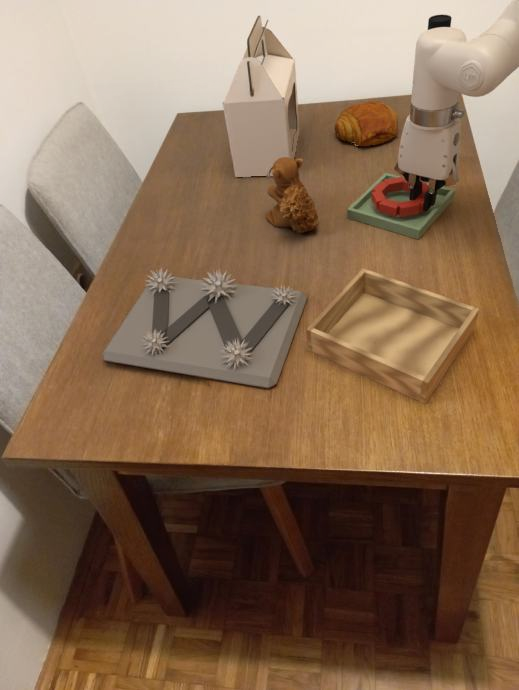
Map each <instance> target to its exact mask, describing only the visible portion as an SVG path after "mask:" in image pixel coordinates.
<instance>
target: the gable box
mask: <svg viewBox="0 0 519 690" xmlns="http://www.w3.org/2000/svg"><path fill="white" fill-rule="evenodd" d="M268 23H269V19H267V20H266V22H265V25H264V26H263V22H262V17H261V15H257V17H256V19H255V21H254V23H253V26H252V28H251V30H250V32H249V35H248V37H247V38H246V39H247V40H246V47H247V48H246V50H245V52H244V55H243V57H242V59H241V60H240V62H239V64H238V65H237V68H236V71H235V74H234V76H233V78H232V80H231V83H230V85H229V88H228V90H227V92H226V93H225V94H226V95H225V96H224V98H223V101H222V109H223V113H224V114H223V115H224V120H225V125H226V132H227V137H228V143H229V148H230V154H231V160H232V165H233V172H234V177H235V178H236V177H243V178H252V177H251V176H266V175H267V173H268V172H270V171H269V170H270V169H271V168H272V167H273V164H274V162H275V161H276V160H277V159H279V158H282V157H288V158H292V159H294V157H295V158H296V154H295V152H296V153H297V148H296V146H297V147H298V143H297V141H298V142H299V138H298V136H299V137H300V133H299V130H300V131H301V128H300V127H301V126H300V114H299V101H298V88H297V87H298V85H297V74H296V60H295V59H294V58H293V57H292V55H291V54H290V52H288V51H287V48H285V47H284V46H283V44H282V42H281V41H280V40H279V39H278V37H276V35H275V34H274V32H273V31H272V30H270V29H269V28H267V26H268ZM289 129H296V132H295V134H294V137H293V144H292V150H291V138H290V130H289ZM294 160H295V159H294ZM268 175H269V173H268ZM270 177H273V175H272V174H271V173H270Z"/></svg>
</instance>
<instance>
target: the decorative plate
mask: <svg viewBox="0 0 519 690" xmlns="http://www.w3.org/2000/svg"><path fill="white" fill-rule="evenodd" d="M155 271H156V272H155ZM155 271H153V270H150V273H151V276H150V275H148V274H146V277H147V278H146V279H144V281H145V282H148V283H147V284H145V288H144V289H143V290H142V292H141V294H140V295H139V296H138V299H137V300H136V302H135V303H134V305H133V306H132V308H131V309H130V310H129V312H128V314H127V315H126V316H125V318H124V320H123V321H122V322H121V324H120V326H119V327H118V328H117V330H116V332H115V333H114V335H113V337H112V339H110V341H109V343H108V344H107V345H106V348H104V350H103V352H102V353H101V356H102V359H103V361H104V362H109V363H114V364H115V363H116V364H122V365H128V366H133V367H139V368H146V369H152V370H157V371H161V372H168V373H175V374H180V375H186V376H191V377H192V376H193V377H197V378H204V379H210V380H216V381H222V382H228V383H232V384H233V383H234V384H241V385H247V386H252V387H257V388H264V389H270V388H272V387H274V386H276V385H277V384H278V382H279V379H280V376H281V373H282V370H283V368H284V365H285V362H286V360H287V357H288V353H289V351H290V348H291V345H292V342H293V339H294V337H295V334H296V331H297V328H298V326H299V323H300V320H301V316H302V314H303V312H304V308H305V306H306V302H307V300H308V295H307V294H306V292H305V291H303V290H296V289H295V290H293V288H290V287H291V286H290V285H289V286H288V287H287V288H286V285H285V284H283V286H282V284H280V285H279V286H280V288H278V287H268V286H258V285H250V284H240V283H234V282H235V281H236V280H237V279H236V278H234V279H230V278H231V275H232V273H227V272H228V270H227V269H226V271H225V272H224V273H223V274H222V273H221V269H220V267H218V270H216V272H215V269H214V268H213V271H212V272H213V274H211V272H209V271H206V273H207V275H208V277H209V278H208V277H203V276H201V278H202V279H196V278H187V277H186V278H185V277H178V276H172V274H173V272H170V271H169V268H167V269H166V271H164V272H163V267H161V268H160V270H158V269H157V268H155ZM169 272H170V273H169ZM229 279H230V280H229Z"/></svg>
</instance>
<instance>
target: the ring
mask: <svg viewBox="0 0 519 690" xmlns="http://www.w3.org/2000/svg"><path fill="white" fill-rule="evenodd" d="M420 182H422V184H423V186H422V193H421V194H420V195H419V196H418V197H417V198H416V199H415V200H411V201H406V202H400V203H399V202H395V201H392V200H388V199H386V198H385V196H386V195H387V194H388V193H390V192H396V191H402V190H403V191H407V192H410V188H409V187H408V182H407V181H406V180H405V178H404V179H403V176H401V177H397V178H391V179H385V180H384V182H383V181H381V182H380V183H379V184H378V185H377V186H376V187H375V188H374V189H373V190H372V196H371V201H372V203H373V205H374V207H375V209H376V210H379V212H381V213H384V214H388V215H391V216H395V217H396V216H397V215H398V214H399V216H400V217H404V216H409V215H415V214H419V212H423V211H424V210H423V208H424V197H425V193H426V192H427V190H428V185H427V184H426V183H427V182H426V183H423V182H424V181H421V180H420Z"/></svg>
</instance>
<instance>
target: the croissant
mask: <svg viewBox="0 0 519 690" xmlns="http://www.w3.org/2000/svg"><path fill="white" fill-rule="evenodd" d="M398 124H399V123H398V114H397V113H396V111H395V110H394V109H392V108H391V107H390V106H389V105H386V104H385V103H383V102H382V101H376V100H369V101H363V102H361V103H357V104H353V105H352V106H351V105H350V106H348V107H346V108H345V109H343V111H342V112H341V113H340V114H339V115H338V117H337V119H336V121H335V124H334V132H335V134H336V135H337V134H338V135H337V137H338V139H340V140H341V139H342V140H341V141H344V142H345V141H349V142H355V144H356V145H358V146H361V147H371V146H370V145H373V146H377V145H381V144H380V143H382V144H384V143H383V142H385V143H387V142H388V141H390V140H391V139H393V138H395V137H396V136H398V134H399V133H398ZM349 142H348V143H349ZM358 146H357V147H358Z"/></svg>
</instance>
